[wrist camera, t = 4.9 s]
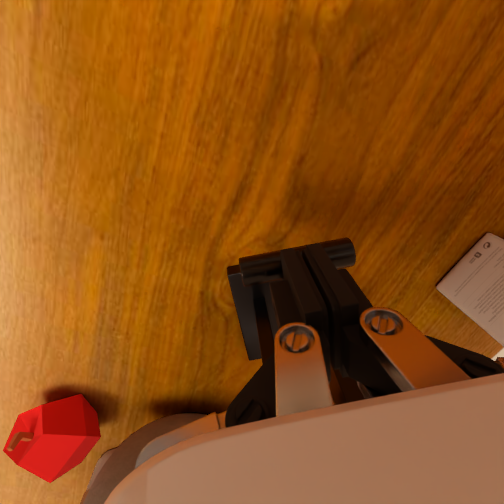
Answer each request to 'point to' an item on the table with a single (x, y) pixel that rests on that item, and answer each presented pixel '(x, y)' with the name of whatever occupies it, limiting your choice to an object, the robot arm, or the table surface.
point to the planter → (132, 455)
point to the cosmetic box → (480, 285)
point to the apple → (54, 437)
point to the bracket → (274, 331)
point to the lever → (270, 263)
